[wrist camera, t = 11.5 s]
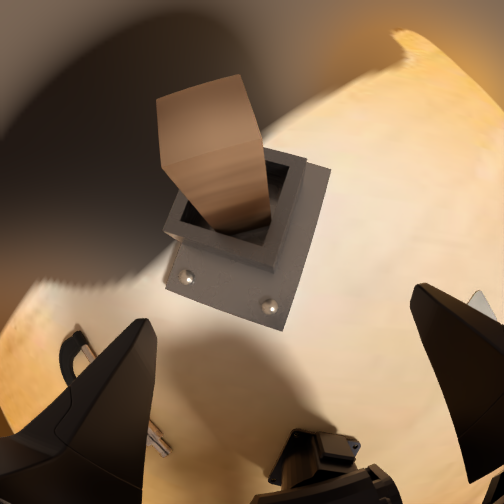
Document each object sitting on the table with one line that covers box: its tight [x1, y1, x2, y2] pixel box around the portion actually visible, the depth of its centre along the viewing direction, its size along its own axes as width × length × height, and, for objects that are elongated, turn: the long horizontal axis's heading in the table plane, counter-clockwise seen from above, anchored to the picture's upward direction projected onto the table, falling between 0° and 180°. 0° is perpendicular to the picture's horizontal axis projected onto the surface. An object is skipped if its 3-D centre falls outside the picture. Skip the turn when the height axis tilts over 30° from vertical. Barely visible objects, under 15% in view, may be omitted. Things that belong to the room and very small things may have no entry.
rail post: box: [156, 74, 272, 238], centre depth 16 cm, size 4×4×12 cm
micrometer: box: [59, 331, 173, 458], centre depth 21 cm, size 15×7×2 cm, turn 41°
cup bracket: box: [163, 147, 331, 331], centre depth 21 cm, size 14×10×5 cm
